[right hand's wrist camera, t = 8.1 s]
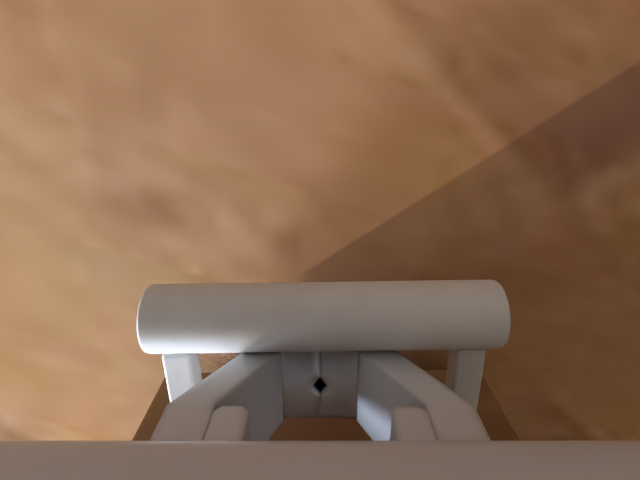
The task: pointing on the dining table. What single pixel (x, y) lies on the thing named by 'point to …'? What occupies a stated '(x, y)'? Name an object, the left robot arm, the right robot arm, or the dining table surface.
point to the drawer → (327, 335)
